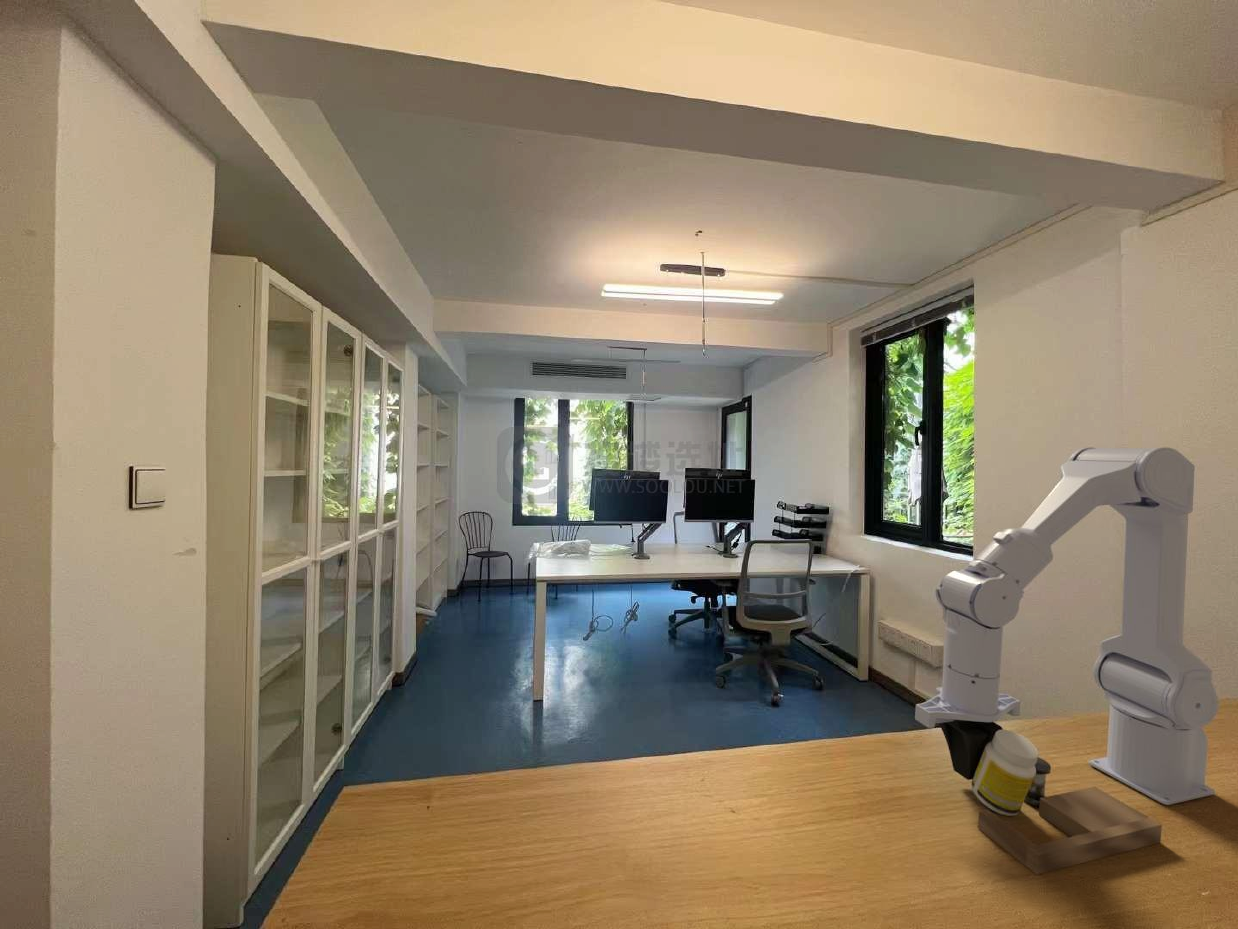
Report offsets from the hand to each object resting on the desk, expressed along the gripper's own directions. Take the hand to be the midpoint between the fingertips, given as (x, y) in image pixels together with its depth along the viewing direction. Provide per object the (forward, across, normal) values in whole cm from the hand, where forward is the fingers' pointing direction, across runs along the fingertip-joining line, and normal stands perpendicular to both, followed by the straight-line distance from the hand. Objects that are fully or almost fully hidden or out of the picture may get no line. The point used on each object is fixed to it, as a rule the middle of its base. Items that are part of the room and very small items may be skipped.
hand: (964, 774), depth 60 cm
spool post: (+2, -6, +4) cm, 7 cm away
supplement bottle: (+1, -1, +3) cm, 3 cm away
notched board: (+1, -4, +9) cm, 10 cm away
